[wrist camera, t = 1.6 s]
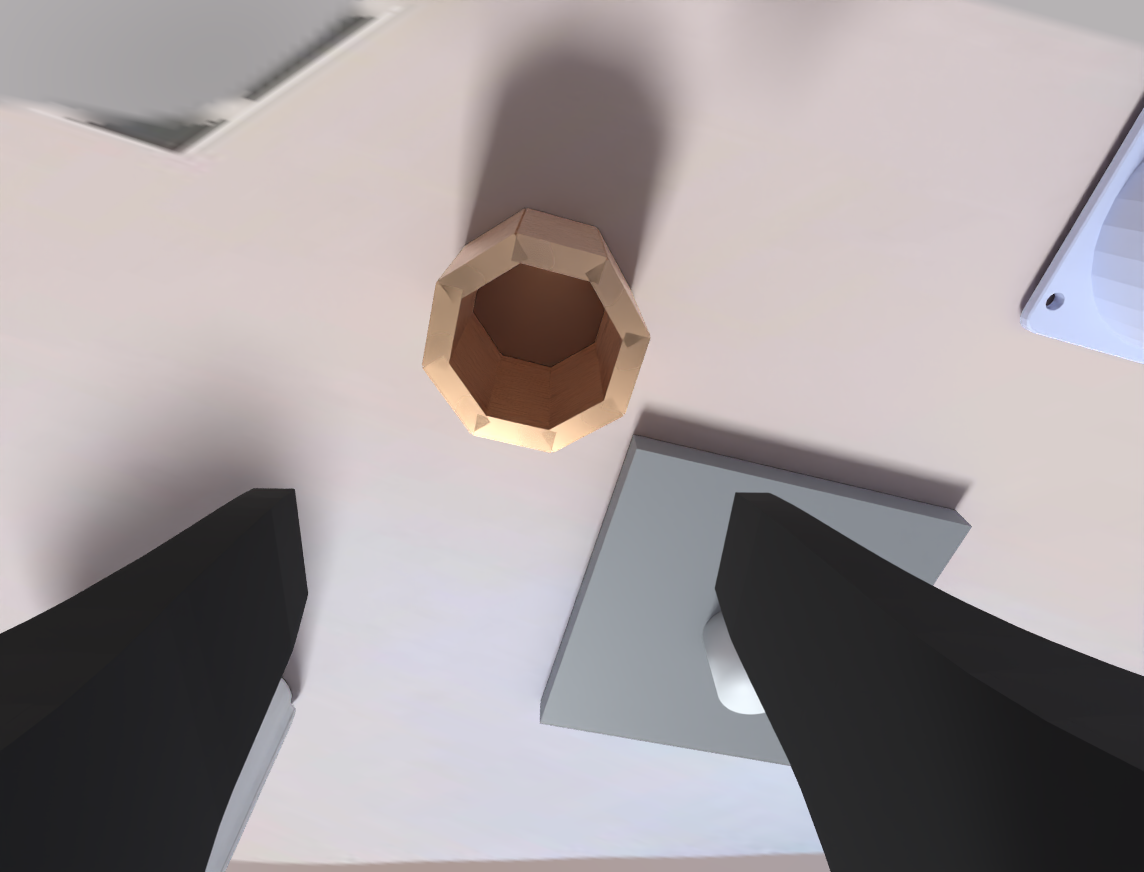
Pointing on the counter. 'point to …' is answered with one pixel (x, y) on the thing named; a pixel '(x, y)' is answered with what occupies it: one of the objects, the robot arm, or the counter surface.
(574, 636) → the plate
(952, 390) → the counter surface
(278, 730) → the photo printer
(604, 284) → the octagonal cardboard bin
